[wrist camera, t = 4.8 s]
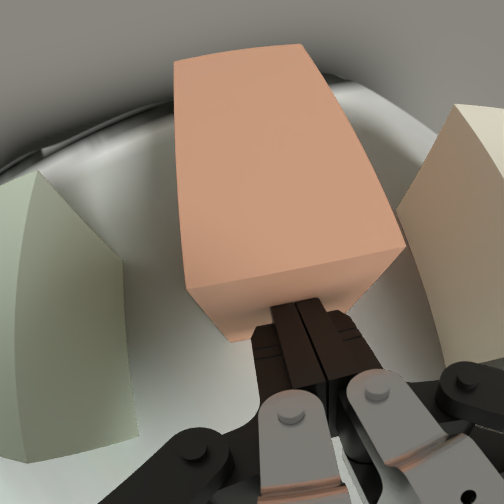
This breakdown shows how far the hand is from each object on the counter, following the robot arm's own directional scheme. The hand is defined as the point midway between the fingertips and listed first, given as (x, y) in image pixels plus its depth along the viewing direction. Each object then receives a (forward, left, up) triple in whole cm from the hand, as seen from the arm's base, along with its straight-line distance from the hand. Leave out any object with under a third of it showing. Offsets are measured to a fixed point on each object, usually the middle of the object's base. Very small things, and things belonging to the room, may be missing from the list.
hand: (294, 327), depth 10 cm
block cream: (+10, +1, -4) cm, 11 cm away
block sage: (-10, +1, -4) cm, 11 cm away
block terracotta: (0, +5, -4) cm, 7 cm away
